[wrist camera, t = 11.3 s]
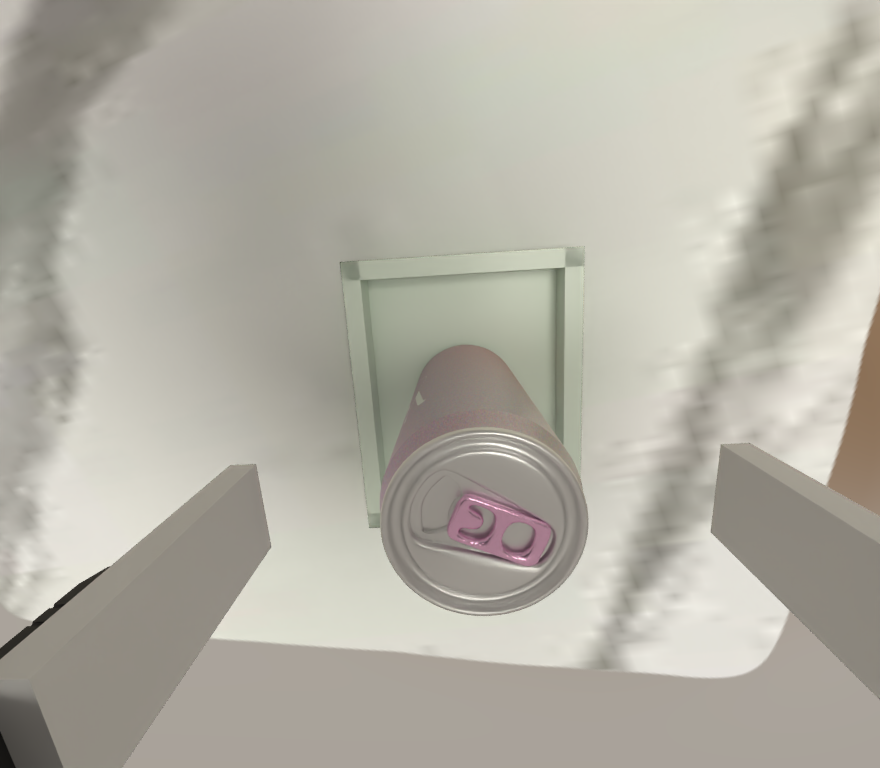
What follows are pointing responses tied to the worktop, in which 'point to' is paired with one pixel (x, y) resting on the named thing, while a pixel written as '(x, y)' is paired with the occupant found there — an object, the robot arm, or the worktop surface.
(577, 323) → the tray
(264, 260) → the worktop surface
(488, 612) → the beverage can
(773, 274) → the worktop surface
